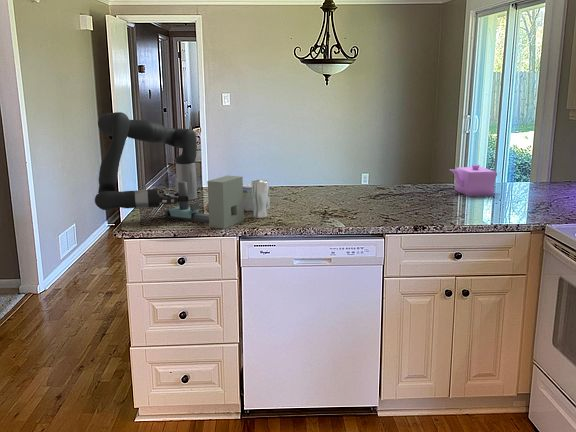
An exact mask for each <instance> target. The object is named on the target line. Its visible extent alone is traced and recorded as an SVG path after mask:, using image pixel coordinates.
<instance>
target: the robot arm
mask: <svg viewBox="0 0 576 432" xmlns="http://www.w3.org/2000/svg"><path fill="white" fill-rule="evenodd" d="M97 127H98V129H99V130H100V132H101V133H102V134H104V135H106V136H110V137H111V141H110V142H111V143H110V144H109V147H108V149H107V151H106V153H105V155H104V157H103V159H102V160H101V163H100V166H99V167H100V168H99V172H98V173H99V174H98V191H97V194H96V195H95V197H94V204H95V206H97V207H98V208H99V209H100V210H103V211H109V210H111V209H115V208H116V209H119V208H122V209H153V208H160V204H162V205H176V204H179V202H188V203H189V201H191V200H196V199H198V188H197V187H198V185H197V170H196V169H197V168H196V167H197V166H196V160H197V159H196V158H197V153H198V152H197V149H198V147H197V144H198V143H197V141H198V140H197V135H196V132H195V131H194V130H193V129H192V128H170V127H166V126H164V125H162V124H161V123H159V122H156V121H152V120H145V119H130V118H129V117H128V116H127V114H125V113H124V112H121V111H120V112H117V111H116V112H107V113H104V114H102V115H100V117H99V118H98V120H97ZM127 138H128V139H133V140H136V141H141V142H146V143H150V144H164V145H167V146H171V147H174V148H176V149H182V153H181V154H180V155H177V156H176V157H175V172H176V178H175V179H174V184H175V186H174V187H175V189H174V190H171V191H164V190H163V191H161V193H160V190H159V189H158V188H152V189H151V188H147V189H138V190H126V191H125V190H124V191H123V190H122V191H116V189H117V188H116V186H117V182H118V173H119V167H120V162H121V158H122V156H123V155H122V154H123V151H124V148H125V145H126V140H127ZM178 182H187V192H188V196H179V191H178Z"/></svg>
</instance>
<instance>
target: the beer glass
mask: <svg viewBox="0 0 576 432" xmlns="http://www.w3.org/2000/svg"><path fill="white" fill-rule="evenodd" d="M268 182H269V181H268V180H267V179H253V180H251V184H252V185H251V194H252V200H253V205H254V211H253V213H252V217H253V218H256V219H264V218H267V217H268V210H267V200H268V185H269V183H268Z"/></svg>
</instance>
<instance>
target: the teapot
mask: <svg viewBox="0 0 576 432" xmlns="http://www.w3.org/2000/svg"><path fill="white" fill-rule="evenodd" d="M449 171H451V172H452V173H453V175H454V176H453V177H454V180H455V182H454V191H456V192H458V193H460V194H463V195H464V196H466V197H483V196H487V195H490V196H494V194H495V193H494V192H495V183H496V182H495V181H496V180H495V179H496V178H497V176H498V173H497V171H495V170H492V169H489V168H486V167H483V166H480V164H472V165H471V166H465V167H463V166H460V167H457V166H456V168H454V169H449Z"/></svg>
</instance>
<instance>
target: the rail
mask: <svg viewBox="0 0 576 432" xmlns="http://www.w3.org/2000/svg"><path fill="white" fill-rule="evenodd" d="M172 208H173V207H171V208H167V209H165V210H164V217H165V218H167V219H175V220H182V221H190V222H191V221H192V222H198V223H206V224H209V213H208V214H207V213H199V212H198V213H192V214H191V216H192V218H190V219H189V218H182V217H174V216H171V215H170V212H169V209H172Z"/></svg>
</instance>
